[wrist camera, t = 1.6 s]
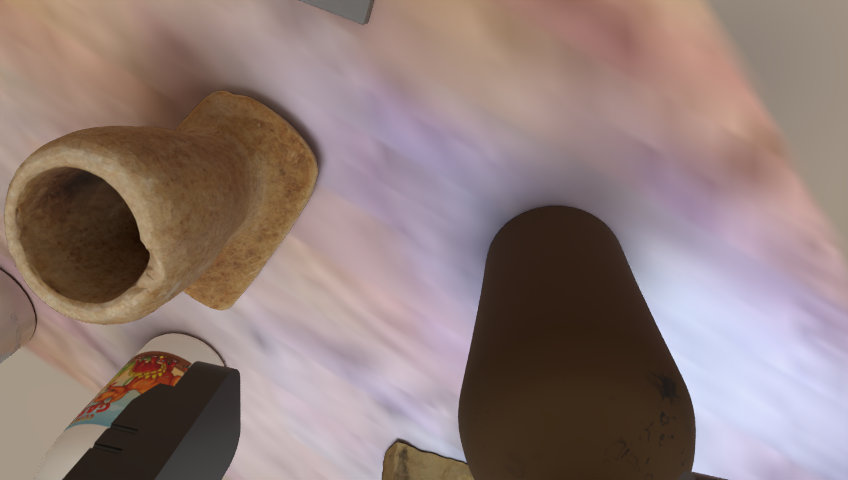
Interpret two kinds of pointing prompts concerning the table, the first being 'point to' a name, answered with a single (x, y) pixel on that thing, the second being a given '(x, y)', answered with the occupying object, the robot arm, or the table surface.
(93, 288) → the tan hollow piece
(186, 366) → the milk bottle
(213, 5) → the table surface
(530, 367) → the olive oil
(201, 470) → the robot arm
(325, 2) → the mat
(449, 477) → the rock
